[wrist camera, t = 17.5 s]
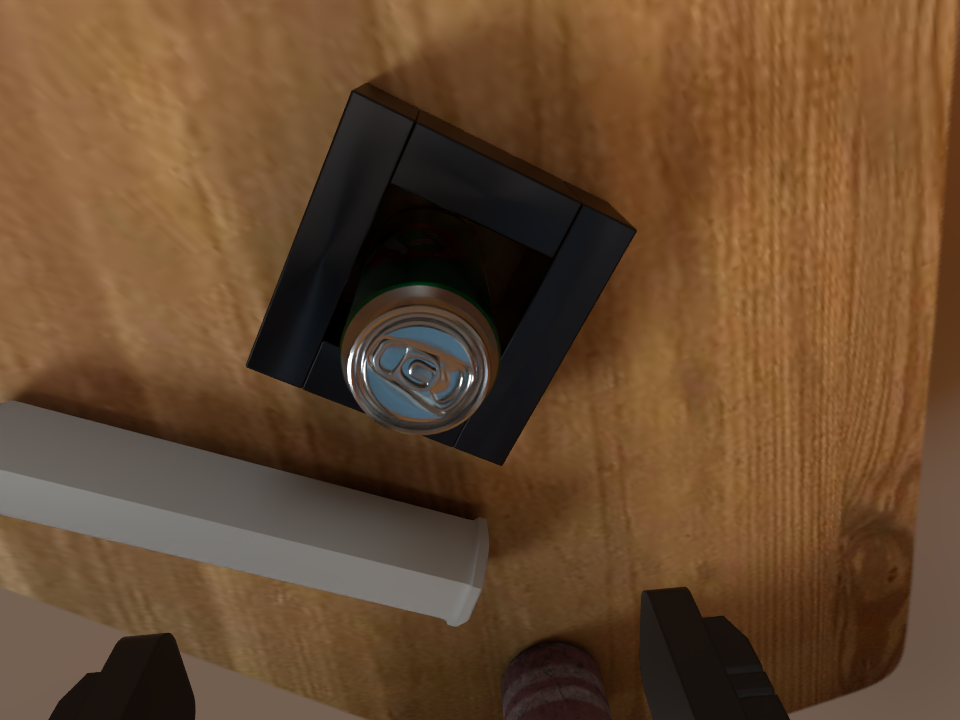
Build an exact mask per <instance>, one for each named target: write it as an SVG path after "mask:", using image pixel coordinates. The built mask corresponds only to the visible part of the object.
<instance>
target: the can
mask: <svg viewBox="0 0 960 720" xmlns="http://www.w3.org/2000/svg"><path fill="white" fill-rule="evenodd" d="M501 695H502V706H503V716H504V720H612V716H611V712H610V708H609V705H608V701H607V697H606V693H605V689H604V685H603V681H602V677H601V673H600V669H599V666H598V665H597V664H596V663H595V661H594V660H593V659H592V658H591V657H590V656H589V655H588V654H586V653H585V652H583V651H582V650H580V649H578V648H577V647H575V646H572V645H568V644H564V643H544V644H540V645H536V646H533V647H531V648H529V649H527V650H525V651H523V652H521V653H520V654H519V655H518V656H517V657H516V658H514V659H513V660H512V662H511V663H510V665H509V666H508V668H507V670H506V672H505V673H504V675H503V677H502V684H501Z"/></svg>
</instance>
